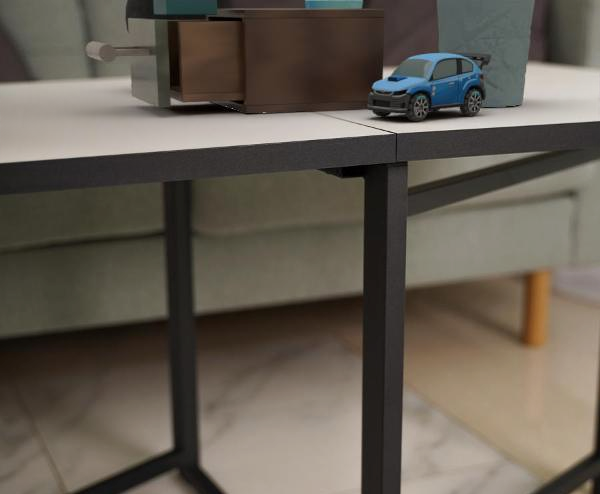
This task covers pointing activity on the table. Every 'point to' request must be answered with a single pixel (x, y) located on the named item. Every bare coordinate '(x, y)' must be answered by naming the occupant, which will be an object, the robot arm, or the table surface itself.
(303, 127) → the table surface
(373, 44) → the cabinet
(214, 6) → the block
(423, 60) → the toy car
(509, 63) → the grey-green crumpled block
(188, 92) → the drawer
